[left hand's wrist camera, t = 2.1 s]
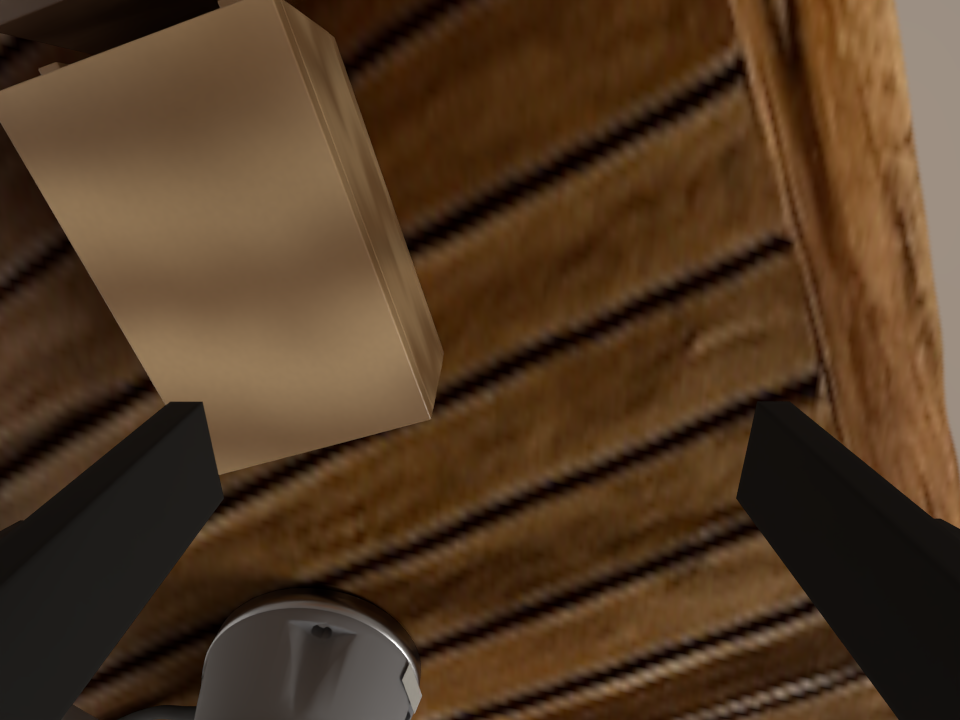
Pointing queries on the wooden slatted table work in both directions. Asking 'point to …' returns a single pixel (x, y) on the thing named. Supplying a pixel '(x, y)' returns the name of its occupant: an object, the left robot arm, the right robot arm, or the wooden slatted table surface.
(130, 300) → the cabinet
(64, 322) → the wooden slatted table surface
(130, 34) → the drawer
